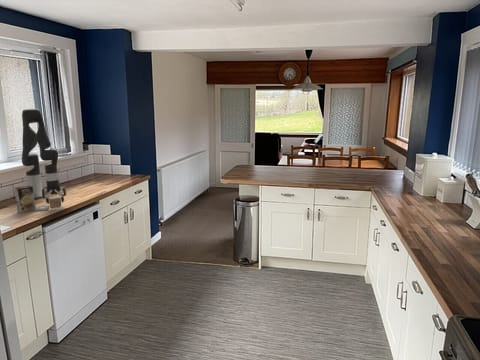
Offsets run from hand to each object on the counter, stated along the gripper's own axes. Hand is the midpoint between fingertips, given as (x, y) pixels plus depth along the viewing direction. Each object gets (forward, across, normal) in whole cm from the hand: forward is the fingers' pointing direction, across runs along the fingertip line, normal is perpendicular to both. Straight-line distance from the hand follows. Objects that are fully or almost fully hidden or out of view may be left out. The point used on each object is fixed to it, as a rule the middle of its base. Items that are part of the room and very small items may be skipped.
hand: (55, 202), depth 240 cm
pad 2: (+3, 0, 0) cm, 3 cm away
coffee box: (+4, +18, 0) cm, 18 cm away
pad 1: (+3, +8, 0) cm, 9 cm away
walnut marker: (+3, 0, 0) cm, 3 cm away
